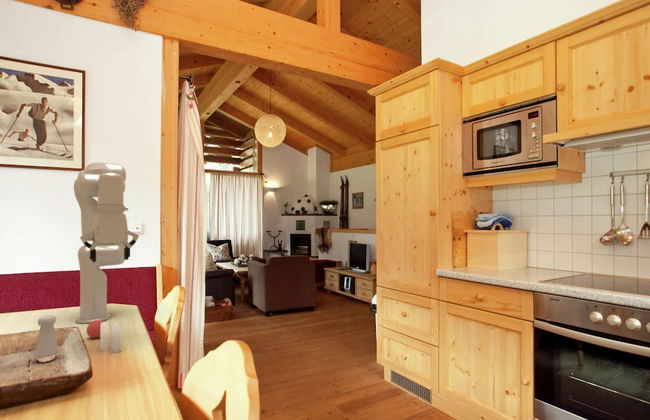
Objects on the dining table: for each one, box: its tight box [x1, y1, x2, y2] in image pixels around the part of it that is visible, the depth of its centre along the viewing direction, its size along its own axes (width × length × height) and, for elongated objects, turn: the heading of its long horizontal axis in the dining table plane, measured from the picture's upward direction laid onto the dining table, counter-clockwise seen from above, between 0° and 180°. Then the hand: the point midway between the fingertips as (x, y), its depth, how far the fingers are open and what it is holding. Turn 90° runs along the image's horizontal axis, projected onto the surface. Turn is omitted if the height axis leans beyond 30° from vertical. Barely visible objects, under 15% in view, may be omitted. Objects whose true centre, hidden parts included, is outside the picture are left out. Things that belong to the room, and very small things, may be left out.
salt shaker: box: [34, 314, 59, 358], centre depth 112 cm, size 6×6×13 cm
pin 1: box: [99, 321, 110, 352], centre depth 121 cm, size 2×2×9 cm
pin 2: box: [111, 322, 122, 354], centre depth 119 cm, size 2×2×9 cm
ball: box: [86, 320, 104, 339], centre depth 133 cm, size 6×6×6 cm
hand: (110, 260), depth 127 cm, fingers open, 9 cm apart
